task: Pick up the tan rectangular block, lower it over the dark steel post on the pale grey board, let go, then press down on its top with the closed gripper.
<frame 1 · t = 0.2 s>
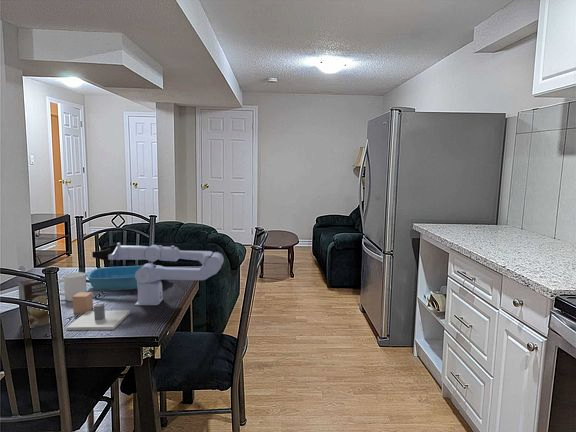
hand: (96, 252, 166), 21 cm above the table, tool horizontal, fingers open, 7 cm apart
tan rectangular block: (83, 310, 160), on the table
casserole dish: (128, 285, 195), on the table
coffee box: (38, 324, 147), on the table
mug: (71, 299, 175), on the table
post board: (100, 321, 150), on the table
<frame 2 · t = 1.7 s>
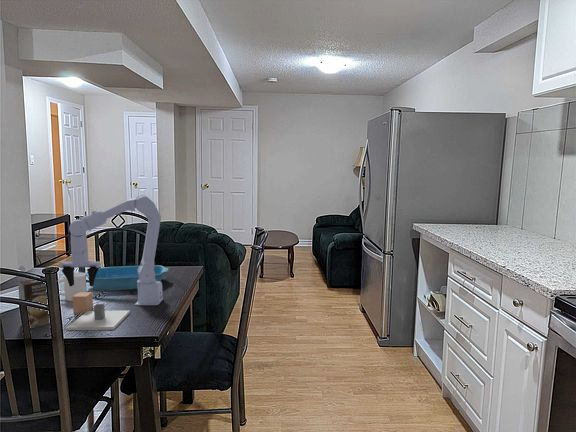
hand: (81, 285, 159), 10 cm above the table, tool pointing down, fingers open, 7 cm apart
nothing on the table moved.
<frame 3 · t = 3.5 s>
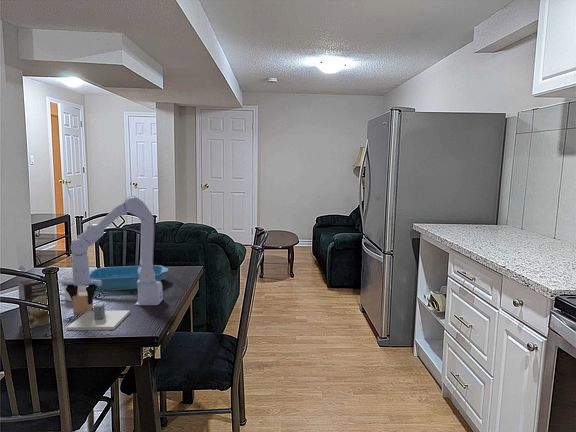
hand: (83, 303, 160), 3 cm above the table, tool pointing down, fingers closed on tan rectangular block, 5 cm apart
tan rectangular block: (83, 310, 160), on the table, touching gripper
everything else where it was.
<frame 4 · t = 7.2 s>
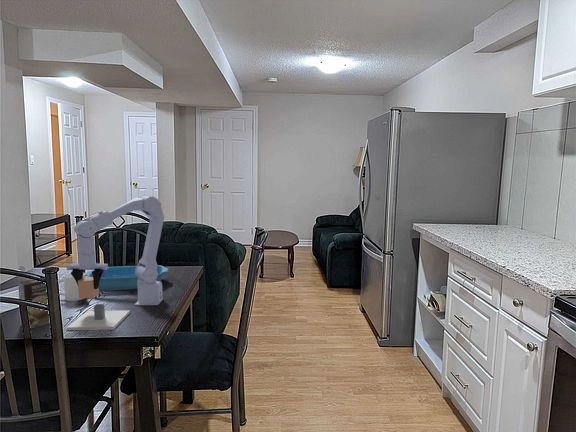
hand: (88, 288, 154), 10 cm above the table, tool pointing down, fingers closed on tan rectangular block, 5 cm apart
tan rectangular block: (89, 295, 155), point 7 cm above the table, touching gripper
everything else where it was.
when the fingers open (4 cm above the table, at t = 10.9 s): tan rectangular block stays where it is, resting on post board.
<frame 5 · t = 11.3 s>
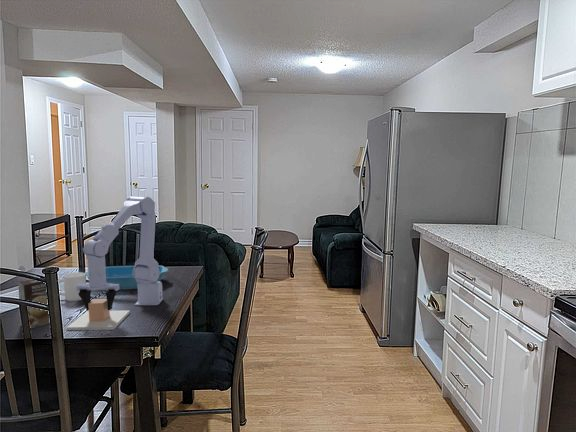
hand: (99, 309, 149), 4 cm above the table, tool pointing down, fingers open, 7 cm apart
tan rectangular block: (99, 318, 150), point 1 cm above the table, touching post board
everything else where it was.
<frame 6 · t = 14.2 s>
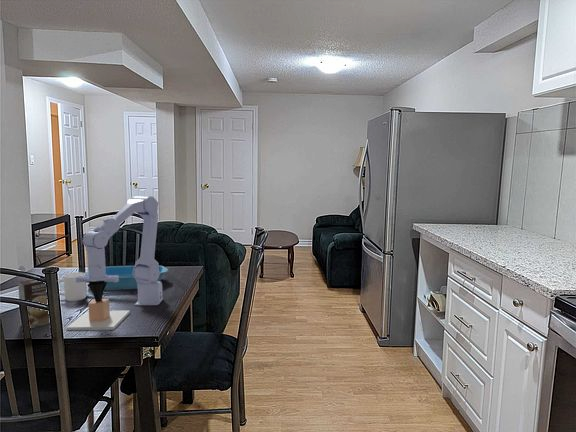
hand: (98, 301, 149), 7 cm above the table, tool pointing down, fingers closed, pressing on tan rectangular block
tan rectangular block: (99, 318, 150), point 1 cm above the table, touching gripper, post board
everything else where it was.
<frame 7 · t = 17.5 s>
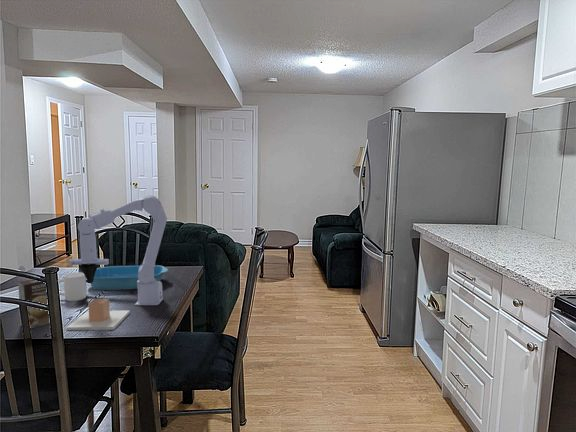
hand: (90, 282, 162), 10 cm above the table, tool pointing down, fingers closed
tan rectangular block: (99, 318, 150), point 1 cm above the table, touching post board
everything else where it was.
at the end: tan rectangular block 0.0 cm from the post board (horizontally); tan rectangular block point 1.0 cm above the table; tan rectangular block tilted 0° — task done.
